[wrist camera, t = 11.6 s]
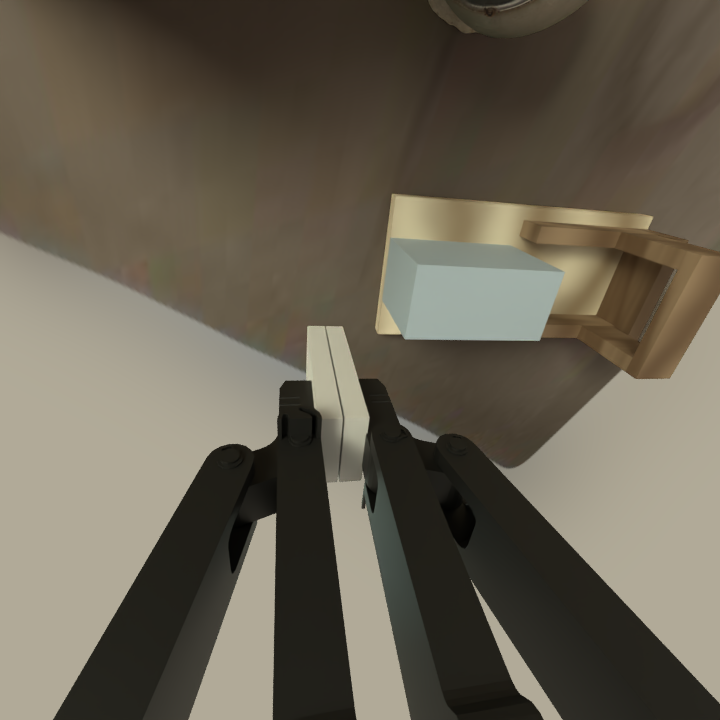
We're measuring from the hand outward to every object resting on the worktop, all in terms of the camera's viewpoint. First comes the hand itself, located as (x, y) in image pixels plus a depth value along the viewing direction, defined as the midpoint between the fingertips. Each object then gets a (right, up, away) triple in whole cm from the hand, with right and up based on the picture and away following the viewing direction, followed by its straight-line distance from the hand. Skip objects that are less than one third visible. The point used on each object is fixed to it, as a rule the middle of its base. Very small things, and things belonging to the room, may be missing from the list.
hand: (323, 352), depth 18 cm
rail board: (+14, +7, +15) cm, 22 cm away
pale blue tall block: (+9, +7, +13) cm, 17 cm away
